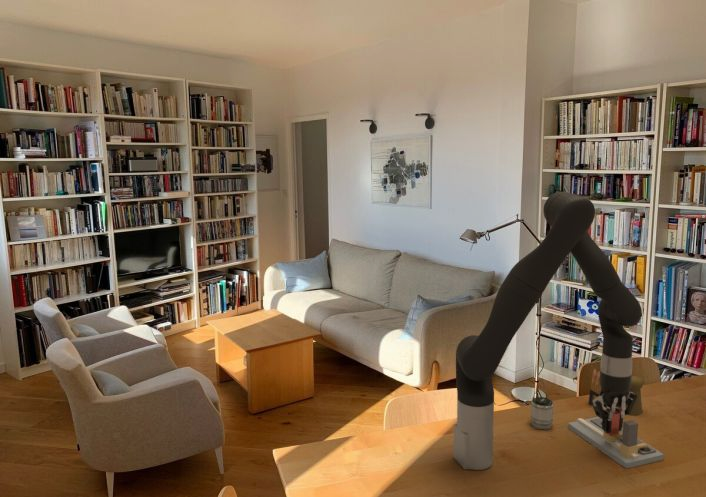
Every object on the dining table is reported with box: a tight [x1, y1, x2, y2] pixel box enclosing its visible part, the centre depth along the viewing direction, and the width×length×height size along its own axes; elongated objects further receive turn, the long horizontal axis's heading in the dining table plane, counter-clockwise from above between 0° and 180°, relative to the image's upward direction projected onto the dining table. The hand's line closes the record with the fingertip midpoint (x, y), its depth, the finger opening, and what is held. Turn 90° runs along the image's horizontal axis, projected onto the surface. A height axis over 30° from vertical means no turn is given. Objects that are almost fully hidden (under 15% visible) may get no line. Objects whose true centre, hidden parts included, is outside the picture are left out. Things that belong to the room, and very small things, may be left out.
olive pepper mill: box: [626, 375, 644, 416], centre depth 165 cm, size 6×6×11 cm
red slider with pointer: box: [603, 410, 623, 442], centre depth 145 cm, size 7×3×8 cm, turn 107°
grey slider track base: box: [567, 416, 665, 470], centre depth 147 cm, size 12×22×10 cm, turn 17°
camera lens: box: [530, 396, 555, 430], centre depth 158 cm, size 6×6×8 cm
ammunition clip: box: [588, 368, 610, 408], centre depth 165 cm, size 11×2×12 cm, turn 16°
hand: (612, 430), depth 145 cm, fingers closed on red slider with pointer, 3 cm apart
